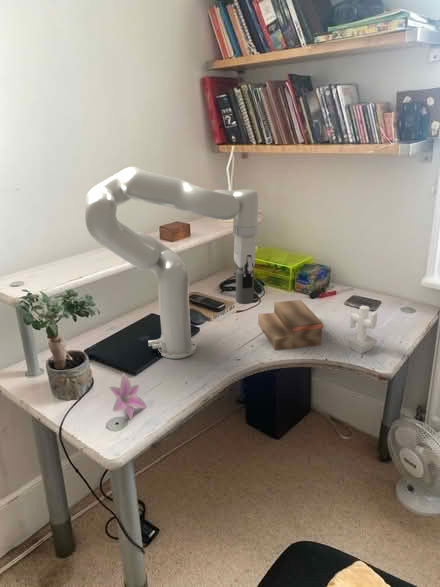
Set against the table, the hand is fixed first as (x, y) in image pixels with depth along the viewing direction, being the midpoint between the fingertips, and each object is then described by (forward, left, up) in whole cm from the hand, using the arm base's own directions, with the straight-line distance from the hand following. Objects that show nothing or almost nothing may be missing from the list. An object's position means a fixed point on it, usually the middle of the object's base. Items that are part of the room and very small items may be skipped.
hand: (244, 283), depth 149 cm
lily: (-40, -32, -21) cm, 55 cm away
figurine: (+34, -16, -20) cm, 43 cm away
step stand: (+15, 0, -20) cm, 25 cm away
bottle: (0, 0, -6) cm, 6 cm away
